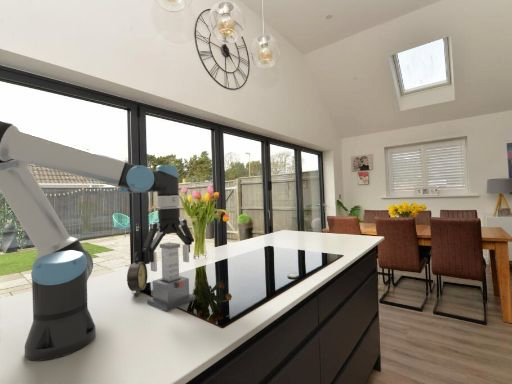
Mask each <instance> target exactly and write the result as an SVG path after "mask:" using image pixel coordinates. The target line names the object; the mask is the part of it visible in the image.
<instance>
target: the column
mask: <svg viewBox="0 0 512 384" xmlns="http://www.w3.org/2000/svg"><path fill="white" fill-rule="evenodd" d="M159 248H160V249H161V250H160V251H161V278H162V281H163V282H166V283H171V282H174V281H177V280H179V276H180V266H179V265H180V264H179V263H180V260H179V259H180V258H179V257H180V256H179V248H181V243H176V242H165V243H164V242H163V243H161V244H160V243H159Z"/></svg>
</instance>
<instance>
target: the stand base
mask: <svg viewBox="0 0 512 384" xmlns="http://www.w3.org/2000/svg"><path fill="white" fill-rule="evenodd" d="M194 301H196V295H194V294H192V293H190V279H189V277H186V276H185V277H184V276H181V275H179V280H177V281H174V282H171V283H166V282H163V281H162V277H161V278H158V279H154V280H152V297H151V298H150V297H149V298H147V299H146V304H147V305H149V306H151V307H154V308H155V309H159V310H161V311H163V312H166V313H167V312H170V311H173V310H175V309H177V308H179V307H181V306H184V305H186V304H188V303H191V302H194Z"/></svg>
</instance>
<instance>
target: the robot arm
mask: <svg viewBox="0 0 512 384" xmlns="http://www.w3.org/2000/svg"><path fill="white" fill-rule="evenodd" d="M30 165H35V166H37V167H41V168H46V169H50V170H52V171H53V170H54V171H57V172H61V173H65V174H69V175H73V176H77V177H81V178H85V179H89V180H93V181H95V182H101V183H104V184H108V185H112V186H117V187H119V191H120V192H121V193H124V194H125V193H128V194H134V193H135V194H137V193H157V194H156V195H157V196H156V197H157V198H156V199H157V208H158V209H157V216H158V223H157V222H150V225H149V231H148V232H147V236H146V237H145V241H144V243H143V247H142V249H141V250H142V252H146V253H147V258H148V259H147V260H148V262H149V263H150V264H149V265H150V271H151V272H154V273H155V272H157V271H158V259H157V257H158V256H157V251H156V249H157V248H158V246H159V245H160V243H161V241H162V239H163V238H164V237H165V236H166V235H169V234H176V235H177V236H178V238H179V239H180V240H181V242H182V243H184V244H182V262H184V263H190V253H191V245H192V244H193V243H194V242H195V238H194V237H193V235H192V232H191V230H190V228H189V225H188V221H187V219H186V218H185V219H183V218H181V219H180V216H181V215H180V213H181V212H180V195H179V194H180V192H179V191H180V189H179V184H180V183H179V182H180V181H179V179H180V178H179V172H178V167H177V166H176V165H173V164H160V165H157V166H156V167H155V170H152V169H150V167H147V166H145V165H141V164H140V165H139V164H138V165H137V164H133V163H130V162H126V161H124V160H121V159H116V158H114V157H110V156H106V155H103V154H100V153H97V152H94V151H90V150H87V149H83V148H79V147H77V146H73V145H70V144H66V143H63V142H60V141H56V140H53V139H49V138H46V137H43V136H40V135H36V134H32V133H30V132H25V131H22V129H21V128H20V127H19V125H16V124H13V123H11V122H7V121H5V120H4V121H3V120H2V119H0V193H1V194H2V196H3V198H4V200H5V201H6V203H7V204H8V206H9V208H10V209H11V210H12V212H13V214H14V215H15V216H16V217H15V218H17V220H18V222H19V223H20V225H21V227H22V228H23V230H24V231H25V233H26V235H27V236H28V238H29V239H30V241H31V243H32V244H33V245H34V247H35V249H36V251H37V253H36V256H35V258H34V262H33V264H32V268H31V273H30V274H31V282H32V283H31V285H32V287H31V288H32V291H31V293H32V314H33V315H32V323H31V326H30V329H29V332H28V335H27V338H26V341H25V343H24V357H25V358H26V359H28V360H30V361H47V360H52V359H57V358H60V357H64V356H67V355H70V354H72V353H74V352H77V351H78V350H81V349H83V348H85V346H87V345H88V344H90V343H91V342H92V341H93V340H94V339H95V337H96V334H97V333H96V328H97V327H96V324H95V322H94V320H93V318H92V315H91V313H90V310H89V307H88V280H89V278H90V276H91V275H92V271H93V270H94V269H93V268H94V261H93V260H94V259H93V257H92V255H91V254H90V253H89V251H87V250H86V249H84V247H83V245H82V243H81V242H80V240H79V239H78V238H77V237H73V236H70V235H69V233H68V231H67V229H66V227H65V226H64V224H63V222H62V221H61V219H60V218H59V216H58V215H57V212H56V210H55V209H54V208H53V206H52V204H51V203H50V200H49V199H48V198H47V195H46V193H44V190H43V189H42V187H41V186H40V184H39V182H38V180H37V179H36V177H35V175H34V174H33V172H32V170H31V168H30ZM180 227H181V228H180ZM157 230H158V231H157Z"/></svg>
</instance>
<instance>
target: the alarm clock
mask: <svg viewBox="0 0 512 384" xmlns="http://www.w3.org/2000/svg"><path fill="white" fill-rule="evenodd" d="M138 254H139V252H137V251H136V252H135V254H134V261H135V262H133V263H131V264H130V266H129V267H128V269H127V274H126V283H127V286H128V289H129V290H130V291H131V293H133V292H135V297H138V294H139V292H140V291H144V290H146V289H145V288H146V286H147V284H148V268H147V264H146V263H145V262H144V261H139V260H138V258H139V255H138ZM138 261H139V262H138Z"/></svg>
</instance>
